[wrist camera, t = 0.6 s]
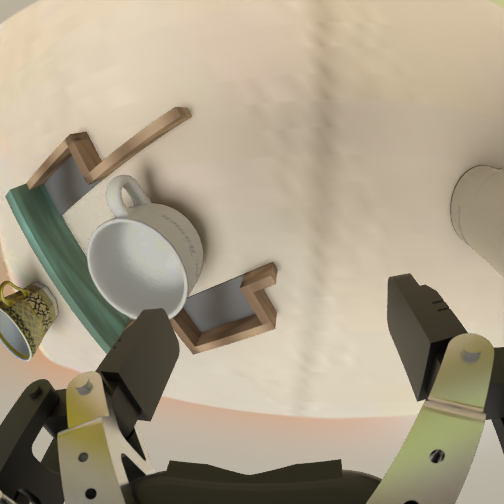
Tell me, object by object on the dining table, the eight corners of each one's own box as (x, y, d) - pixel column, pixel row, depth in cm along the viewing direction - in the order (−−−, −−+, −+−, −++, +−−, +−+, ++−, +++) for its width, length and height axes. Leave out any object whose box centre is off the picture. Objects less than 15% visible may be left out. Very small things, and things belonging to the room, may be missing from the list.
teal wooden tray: (164, 69, 24) (136, 59, 19) (296, 305, 33) (296, 339, 28) (36, 183, 31) (5, 196, 26) (148, 354, 40) (132, 382, 35)
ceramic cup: (70, 333, 42) (37, 371, 33) (30, 312, 42) (-3, 344, 33) (60, 267, 36) (16, 303, 27) (18, 248, 36) (-24, 277, 27)
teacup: (211, 289, 34) (191, 333, 27) (128, 278, 35) (95, 314, 28) (211, 165, 28) (183, 181, 21) (116, 166, 29) (71, 181, 22)
